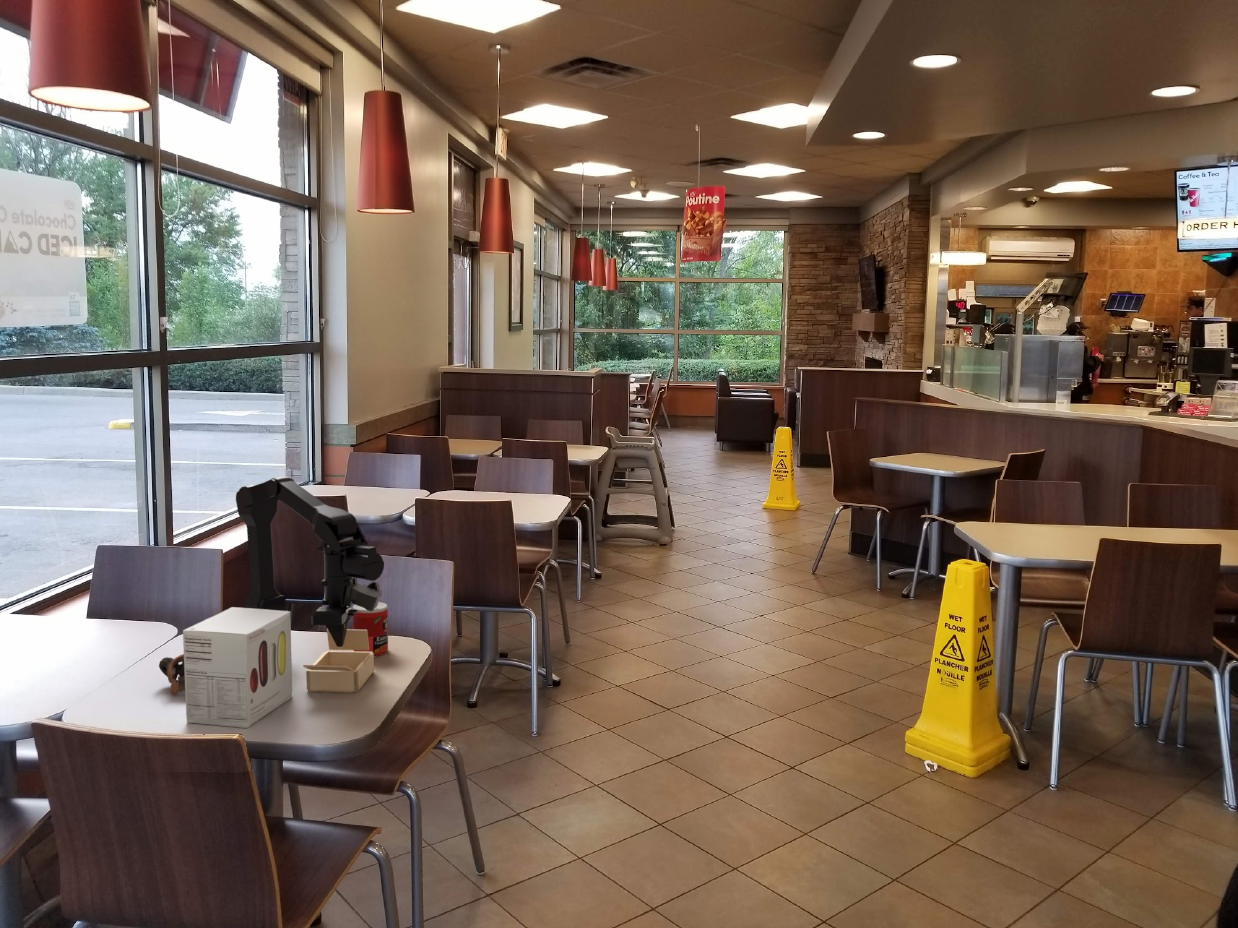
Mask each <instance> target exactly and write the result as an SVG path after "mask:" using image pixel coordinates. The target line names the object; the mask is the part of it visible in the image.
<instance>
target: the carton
mask: <svg viewBox="0 0 1238 928" xmlns="http://www.w3.org/2000/svg"><path fill="white" fill-rule="evenodd" d="M374 657H375V656H374V653H373V652H356V651H354V650H326V651H324V652H323V653H322V654H320V656H319V657H318V658H317V659H316V660H315V661H314V662H313V663H312V664H311V665H330V666H348V667H350V668H351V669H353V671H343V670H310V669H307V668H306V671H305V673H306V674H305V675H306V679H305V680H306V690H307V693H319V694H320V693H324V694H325V693H326V694H327V693H329V694H330V693H331V694H332V693H333V694H357V693H358V692H359V691H360V690H361V688H362V687H363V686H364V685H365V683H366V682H367V680H368V679H369V678H370V677H371V675H372V674H373V672H374V671H375V662H374V661H375V659H374ZM358 690H359V691H358Z"/></svg>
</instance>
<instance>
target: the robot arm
mask: <svg viewBox="0 0 1238 928" xmlns="http://www.w3.org/2000/svg"><path fill="white" fill-rule="evenodd" d="M235 494H236V495H235V503H236V508H237V509H236V510H237V514H238V516H239V517H240V519H241V520H242V521H243V523H244V524H245V525H246V531H247V532H246V533H247V547H248V562H249V577H250V591H249V593H248V596H247V597H246V600H245V602H244V607H243V608H253V609H266V610H279V611H288V610H287V605H286V602H287V598H286V596H285V594H283V595H282V594H281V593H279V592H278V590H277V589H276V586H275V585H276V584H275V568H274V555H273V554H274V552H273V538H272V522H273V521H274V518H275V516H276V515H277V512H278V502H279V501H281V503H283V504H285V505H286V506H287V507H288V508H290V509H291V510H292V511H294V512H295V513H297V514H298V515H299V516H301V517H302V518H303V519H305V520H306V521H307V522H309V524H310V525H311V527H312V532H313V533H314V534H315V535H316V537H318V539H319V540H320V541H322V542H321V543H320V544H319V545H318V546H317V547H316V548H315V549H316V551H317V552H322V553H323V563H324V564H323V570H324V571H323V572H324V573H323V574H324V577H323V579H322V580H321V586H322V587H324V598H323V599H322V600H321V605H322V606H319V607H318V608H317V609H316V610H315V611H314V612H313V613H312V614H311V616H310V618H311V619H310V624H311V625H312V626H325V627H326V630H327V629H328V631H329V632H330V634H331V636H332V638H333V640H334V642H335V644H336V645H337V647H342V646H343V644H344V640H345V636H346V632H347V629H348V627H349V623H350V621H351V620H350V619H353V615H354V614H355V613H356V612H357V611H358V610H352V606H353V605H358V606H360V607H363V608H365V609H366V610H368V611H373V610H374V609H375V608H376V607H377V605H378V602H380V599H381V597H382V594H383V593H382V590H380V583H379V582H377V581H376V580H378V579H379V578H380V577H381V575H382V574H383V572H384V568H385V561H384V560H383V557H382V555H381V554H380V553H378V552H377V547H376V546H371V545H370V546H368V543H369V542H368V541H367V539H366V536H365V535H364V533H363V532H362V529H361V527H360V526H359V524H358V522H357V518H356V517H355V516H354V515H353V514H352V512H348V511H347V510H345V509H341V508H339V507H333V506H329V505H327V504H326V503H324V502H323V501H321V500H320V499H318V498H317V497H316V496H315V495H313V494H312V493H310V492H309V491H307V490H306V489H305V488H304V487H302V486H301V485H299V484H298V483H296V481H295V480H294V478H292V477H291V476H287V475H286V476H285V475H284V476H278V477H272V478H270V479H269V480H266V481H264V482H261V483H258V484H252V485H246V486H241V487H240V488H239V489H238V491H236V493H235ZM358 579H360V580H365V581H371V582H370V583H368V584H367V585H366V584H365V583H364V584H363V585H362V584H360V583H358ZM352 604H353V605H352Z"/></svg>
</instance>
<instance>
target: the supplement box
mask: <svg viewBox="0 0 1238 928" xmlns="http://www.w3.org/2000/svg"><path fill="white" fill-rule="evenodd" d="M291 616H292V615H291V611H290V610H289V611H288V610H287V611H279V610H266V609H253V608H244V607H235V606H231V607H229V608H227V609H225V610H223V611H221V612H219V613H217V614H214V615H213V616H212V615H211V616H210V617H208V618H206V619H204V620H202V621H200V622H197V623H195V624H193V625H192V626H189V627H186V628H185V629H183V630H182V639H183V640H182V641H183V654H184V670H185V691H184V692H185V711H186V712H185V714H186V715H185V716H186V723H189V724H191V723H192V724H203V725H209V726H210V725H212V726H213V725H214V726H223V727H233V728H242V729H249V727H251V726H252V725H253V724H255V723H257V722H258V721H259V720H261V719H262V718H264V717H265V716H266V715H268V714H270V713H271V712H272V711H274V710H275V709H277V708H278V707H280V706H281V705H283V704H284V703H286V702H287V701H289V700H290V699H292V698H293V675H292V674H293V673H292V672H293V670H292V669H293V667H292V664H293V663H292V660H293V659H292V630H291V629H292V628H291V625H292V623H291Z"/></svg>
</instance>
